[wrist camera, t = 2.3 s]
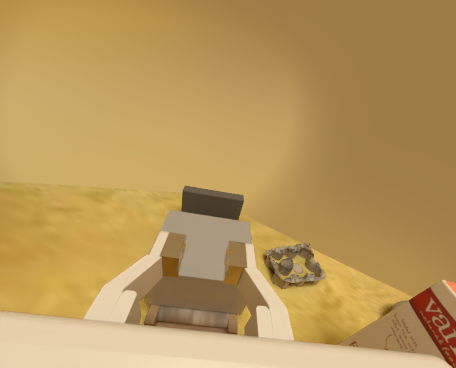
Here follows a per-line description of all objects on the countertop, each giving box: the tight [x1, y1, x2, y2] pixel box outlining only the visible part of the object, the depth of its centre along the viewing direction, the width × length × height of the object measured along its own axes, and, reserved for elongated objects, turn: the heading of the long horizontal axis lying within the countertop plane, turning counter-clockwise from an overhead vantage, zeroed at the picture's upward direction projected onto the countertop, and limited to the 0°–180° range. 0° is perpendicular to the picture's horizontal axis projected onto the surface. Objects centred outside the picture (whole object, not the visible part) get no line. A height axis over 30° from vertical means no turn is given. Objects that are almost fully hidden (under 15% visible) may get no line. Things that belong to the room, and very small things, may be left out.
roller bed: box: [144, 186, 244, 335], centre depth 31 cm, size 22×13×9 cm, turn 178°
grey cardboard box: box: [145, 210, 252, 314], centre depth 26 cm, size 10×13×8 cm
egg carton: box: [265, 243, 326, 289], centre depth 34 cm, size 11×8×4 cm
